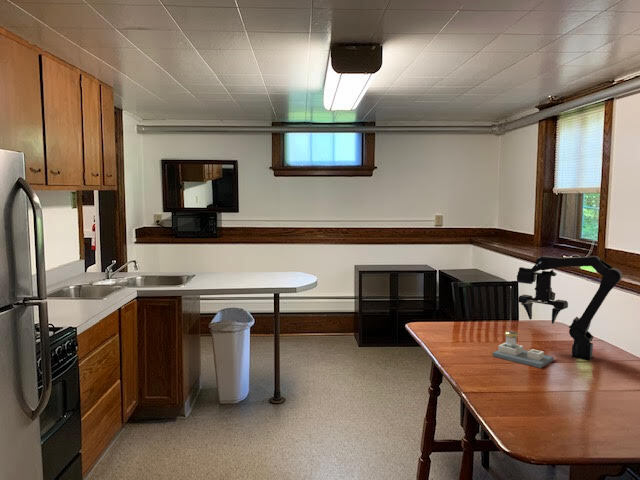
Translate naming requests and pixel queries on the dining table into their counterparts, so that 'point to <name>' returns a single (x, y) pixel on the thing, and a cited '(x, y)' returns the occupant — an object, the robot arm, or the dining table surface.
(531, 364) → the board
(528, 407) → the dining table surface
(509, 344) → the gold capped canister
